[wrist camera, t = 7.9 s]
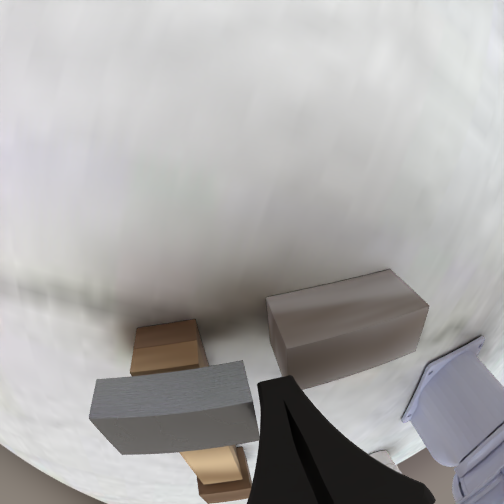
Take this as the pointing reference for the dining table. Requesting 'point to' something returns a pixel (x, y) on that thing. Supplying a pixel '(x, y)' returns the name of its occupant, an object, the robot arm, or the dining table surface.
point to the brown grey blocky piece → (319, 340)
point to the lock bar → (176, 410)
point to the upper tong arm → (177, 359)
